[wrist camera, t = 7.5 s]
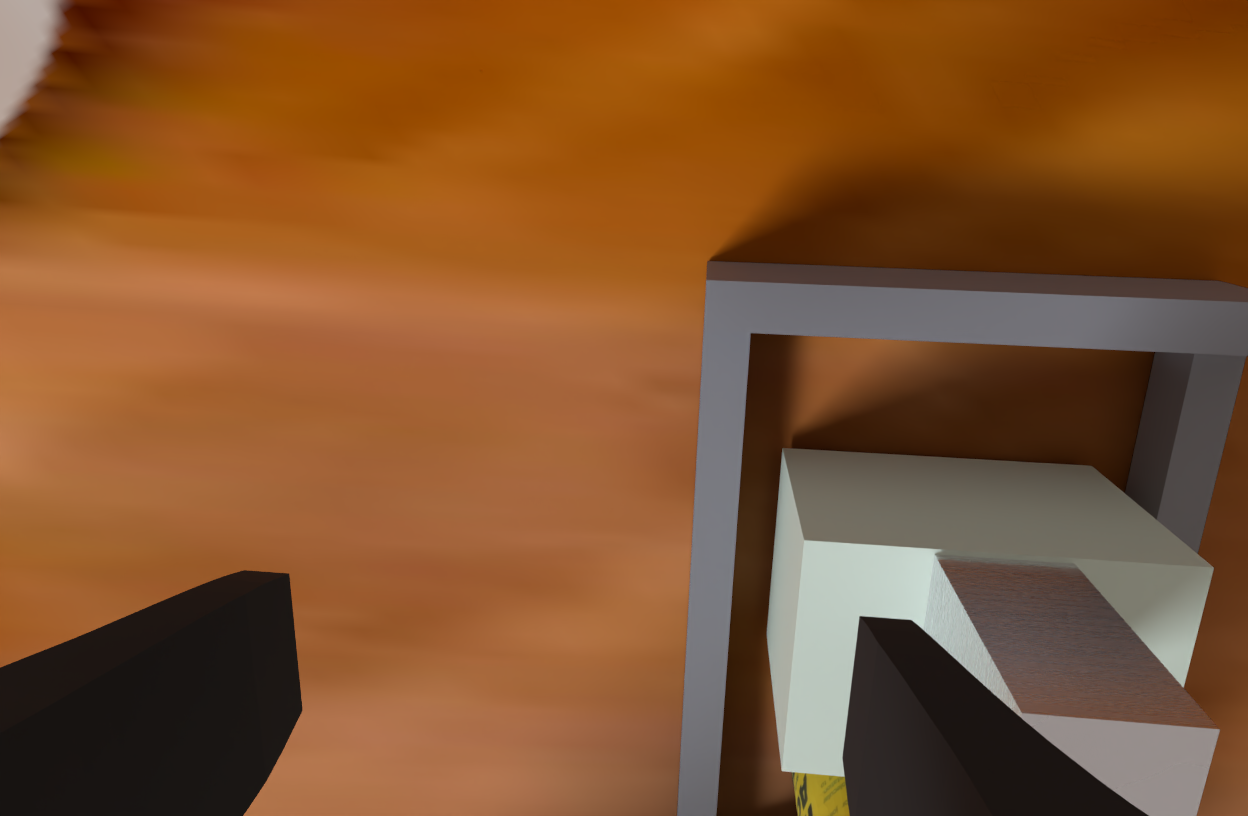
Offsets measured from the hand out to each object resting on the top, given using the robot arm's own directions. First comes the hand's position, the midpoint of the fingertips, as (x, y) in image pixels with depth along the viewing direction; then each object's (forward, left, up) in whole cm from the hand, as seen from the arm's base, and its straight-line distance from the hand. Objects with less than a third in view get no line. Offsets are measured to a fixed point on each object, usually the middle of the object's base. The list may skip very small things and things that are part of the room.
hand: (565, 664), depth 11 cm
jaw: (+7, -3, -10) cm, 13 cm away
